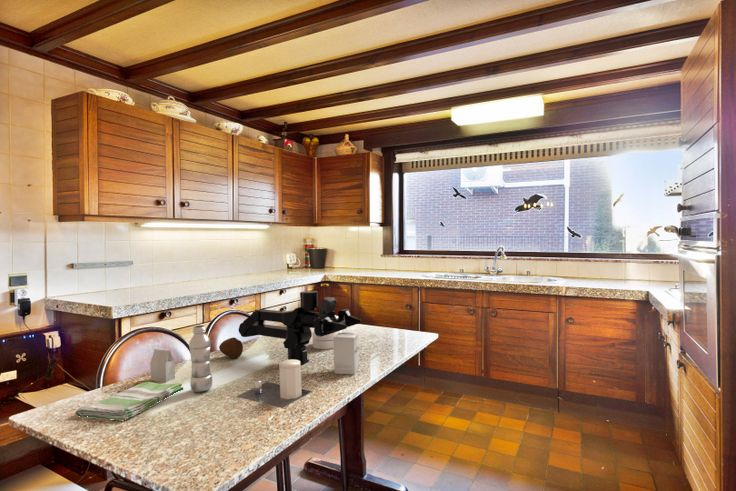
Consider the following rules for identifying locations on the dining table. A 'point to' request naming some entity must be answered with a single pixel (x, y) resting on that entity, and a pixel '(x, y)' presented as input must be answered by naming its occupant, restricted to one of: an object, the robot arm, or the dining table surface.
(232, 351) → the potato
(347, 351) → the supplement box
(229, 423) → the dining table surface
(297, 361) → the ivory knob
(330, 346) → the honey pot
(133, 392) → the dish towel
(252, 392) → the plate
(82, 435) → the dining table surface
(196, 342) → the plastic bottle
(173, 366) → the grey gabled carton
